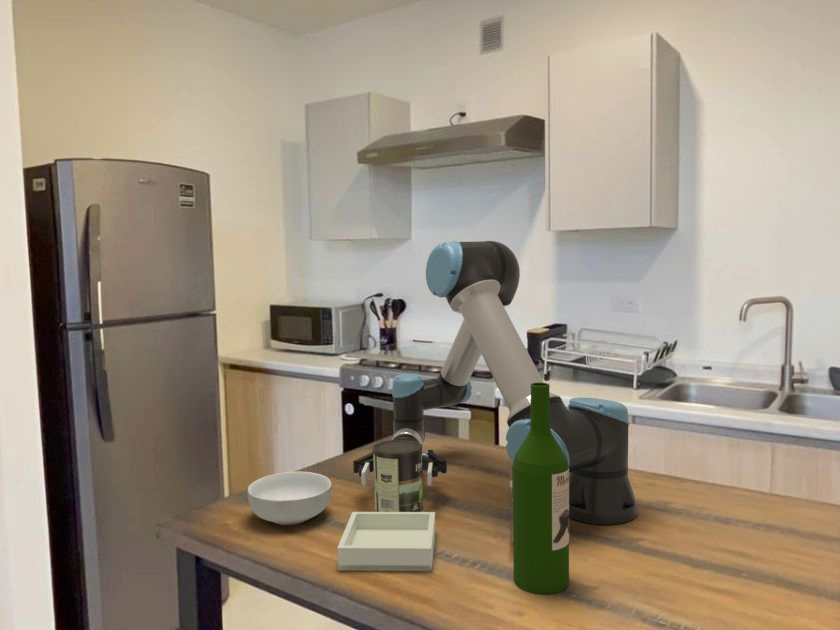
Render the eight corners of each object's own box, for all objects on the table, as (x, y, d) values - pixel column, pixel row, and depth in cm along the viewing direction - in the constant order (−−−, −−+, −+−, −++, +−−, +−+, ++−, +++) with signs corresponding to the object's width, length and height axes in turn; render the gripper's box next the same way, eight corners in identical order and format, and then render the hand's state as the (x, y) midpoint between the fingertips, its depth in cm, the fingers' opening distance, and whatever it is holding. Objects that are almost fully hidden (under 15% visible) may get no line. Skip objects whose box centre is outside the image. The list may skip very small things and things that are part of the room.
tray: (435, 532, 131) (435, 512, 130) (431, 571, 115) (431, 548, 114) (353, 531, 132) (352, 511, 131) (338, 570, 116) (337, 547, 115)
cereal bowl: (231, 528, 135) (230, 493, 134) (277, 499, 150) (275, 468, 150) (307, 539, 129) (305, 503, 128) (346, 507, 144) (345, 475, 144)
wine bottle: (556, 600, 104) (556, 392, 101) (504, 585, 109) (502, 386, 106) (577, 576, 112) (577, 381, 109) (527, 563, 117) (525, 377, 114)
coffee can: (424, 502, 146) (422, 438, 145) (423, 521, 136) (421, 453, 135) (376, 503, 146) (374, 439, 145) (372, 522, 136) (369, 453, 135)
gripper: (458, 464, 160) (457, 496, 138) (353, 464, 161) (336, 496, 140) (458, 432, 159) (456, 460, 138) (352, 433, 161) (335, 461, 139)
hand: (396, 478), depth 139 cm, fingers open, 13 cm apart
